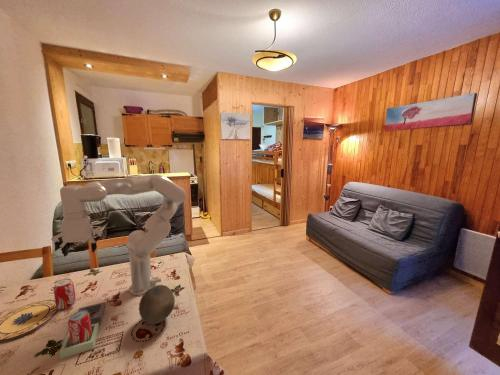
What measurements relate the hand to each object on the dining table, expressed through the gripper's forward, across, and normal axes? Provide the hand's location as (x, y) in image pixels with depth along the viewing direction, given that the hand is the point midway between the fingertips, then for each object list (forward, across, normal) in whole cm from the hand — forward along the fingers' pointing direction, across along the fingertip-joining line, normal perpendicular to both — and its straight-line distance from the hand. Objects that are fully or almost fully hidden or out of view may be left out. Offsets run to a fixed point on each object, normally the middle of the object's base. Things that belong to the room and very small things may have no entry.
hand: (80, 252), depth 91 cm
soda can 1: (+28, +10, -8) cm, 31 cm away
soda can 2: (+28, -2, +19) cm, 34 cm away
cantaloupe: (+28, -29, +19) cm, 45 cm away
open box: (+28, -2, +12) cm, 31 cm away
